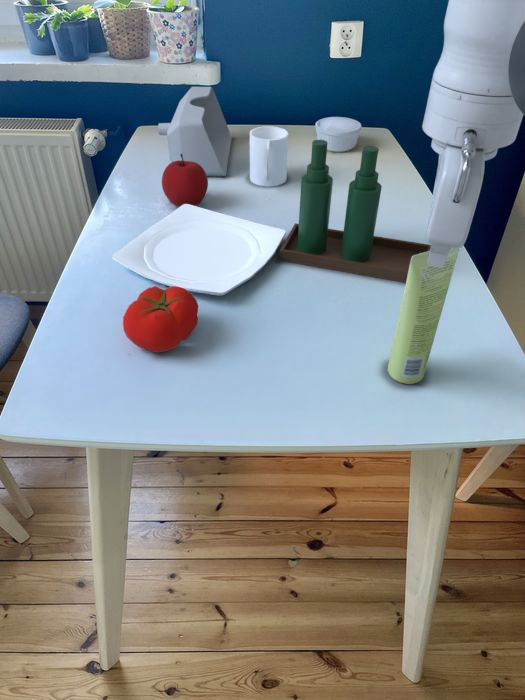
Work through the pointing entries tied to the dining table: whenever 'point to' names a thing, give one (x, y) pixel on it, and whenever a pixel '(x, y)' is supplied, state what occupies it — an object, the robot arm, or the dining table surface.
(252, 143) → the cup
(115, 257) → the plate
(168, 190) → the apple
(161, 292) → the tomato
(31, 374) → the dining table surface
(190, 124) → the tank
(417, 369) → the tube
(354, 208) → the bottle
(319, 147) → the bottle
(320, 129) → the ramekin
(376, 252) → the tray
